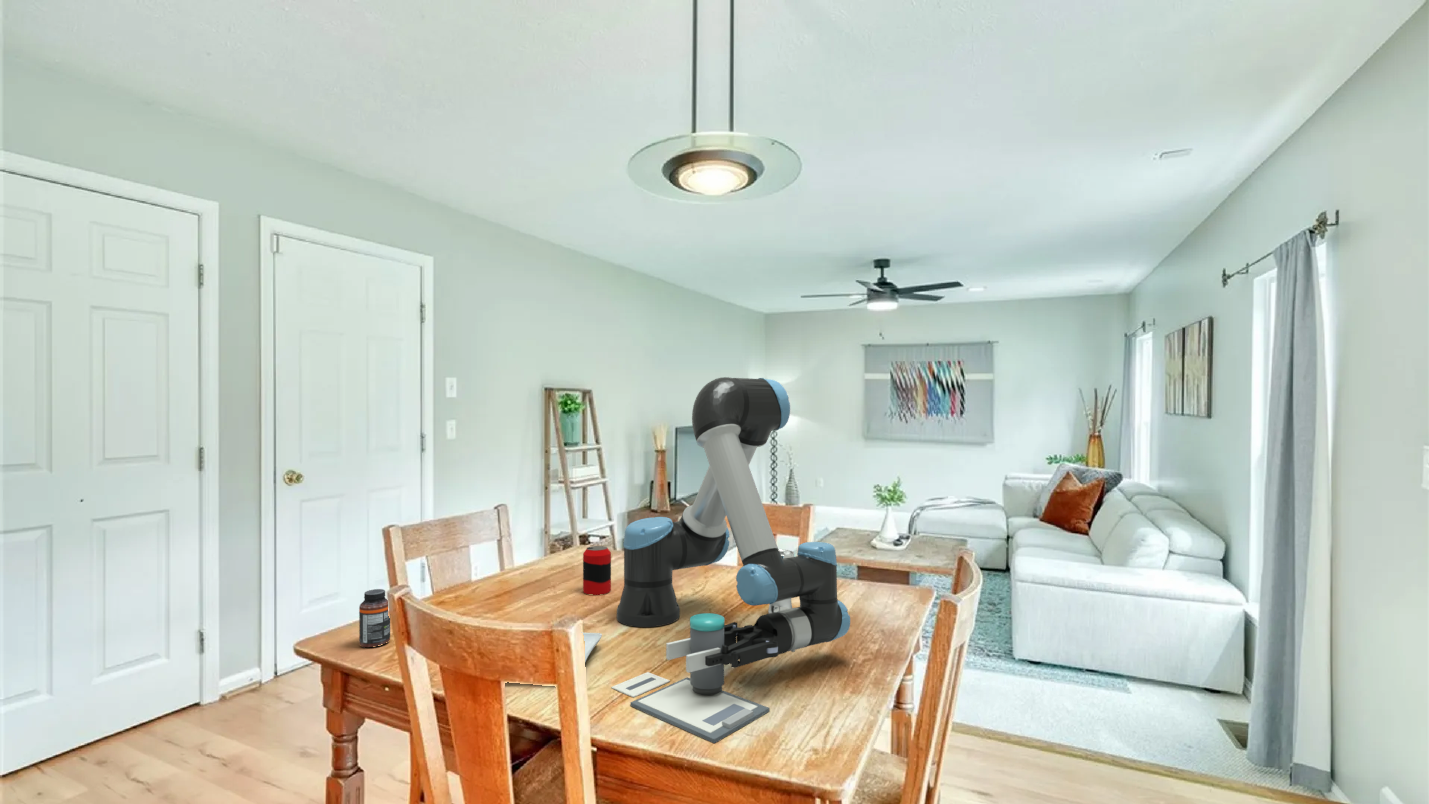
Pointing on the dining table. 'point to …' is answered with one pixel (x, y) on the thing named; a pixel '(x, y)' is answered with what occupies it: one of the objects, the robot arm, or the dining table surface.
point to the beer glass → (786, 603)
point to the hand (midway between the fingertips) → (677, 657)
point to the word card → (640, 684)
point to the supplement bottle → (374, 619)
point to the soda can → (597, 570)
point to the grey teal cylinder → (704, 637)
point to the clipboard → (700, 710)
